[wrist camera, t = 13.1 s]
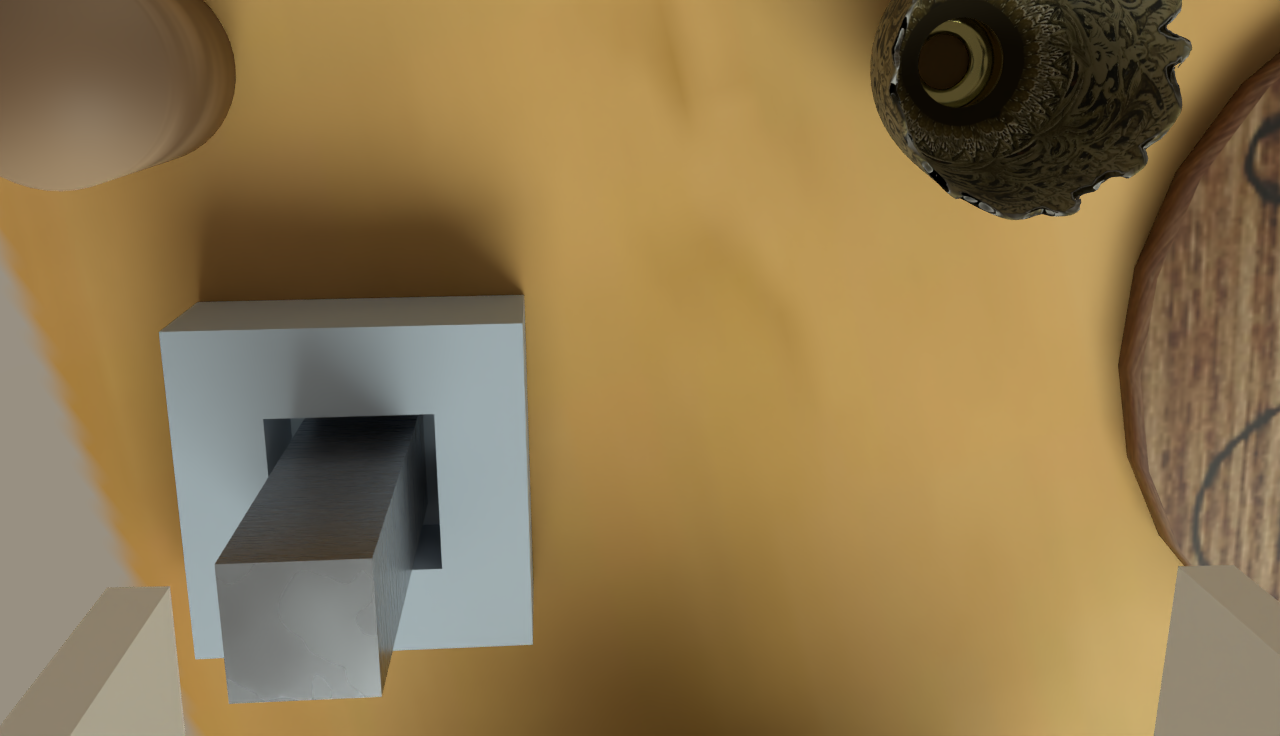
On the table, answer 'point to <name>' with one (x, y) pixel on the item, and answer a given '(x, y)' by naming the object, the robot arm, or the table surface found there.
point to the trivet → (1213, 346)
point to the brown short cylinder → (107, 87)
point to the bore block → (364, 386)
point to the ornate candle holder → (1030, 96)
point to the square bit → (324, 562)
